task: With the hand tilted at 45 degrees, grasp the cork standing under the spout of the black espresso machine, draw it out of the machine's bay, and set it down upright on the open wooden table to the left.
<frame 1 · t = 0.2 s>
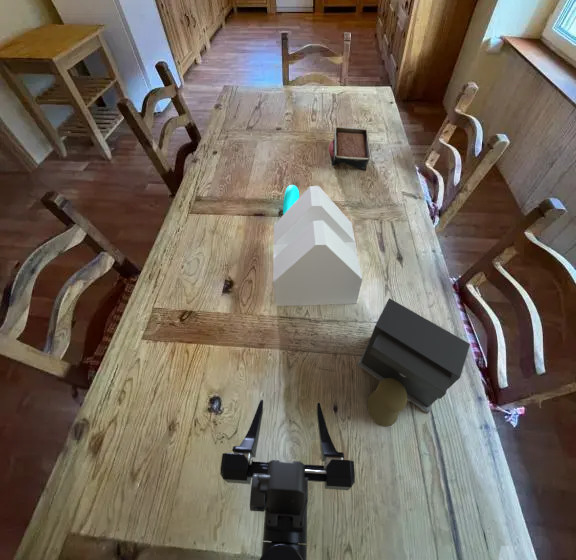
hand: (290, 401, 55), 14 cm above the table, tool horizontal, fingers open, 9 cm apart
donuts: (302, 215, 102), on the table
cork: (382, 407, 67), on the table
square planter box: (348, 158, 119), on the table
white house shaped block: (313, 276, 87), on the table
coffee maker: (382, 407, 66), on the table
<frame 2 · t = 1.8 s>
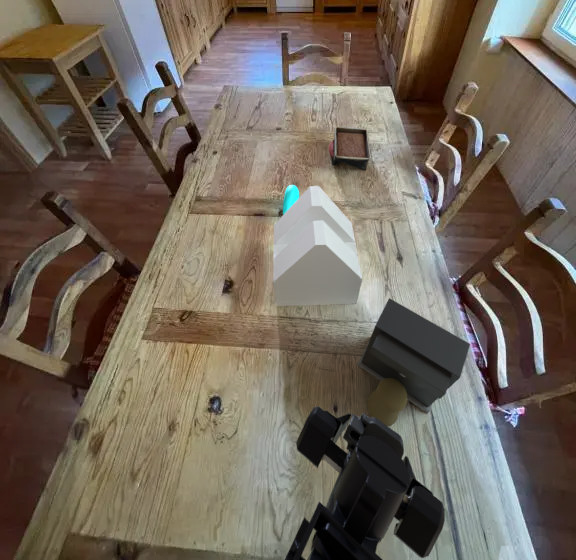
hand: (376, 436, 52), 14 cm above the table, tool tilted 45°, fingers open, 9 cm apart
nothing on the table moved.
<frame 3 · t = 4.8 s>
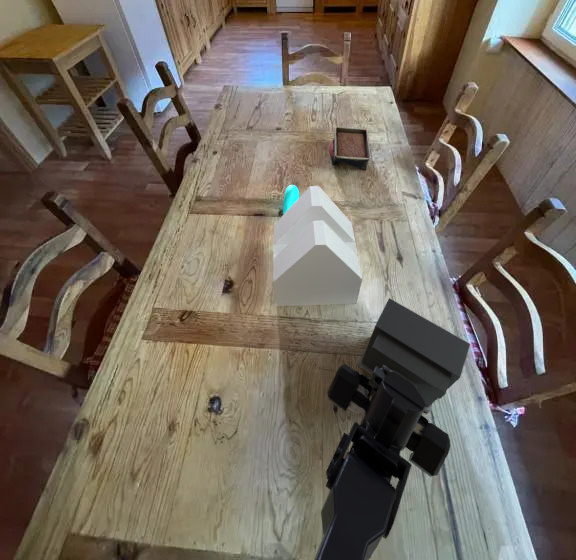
hand: (392, 391, 63), 7 cm above the table, tool tilted 45°, fingers closed on cork, 5 cm apart
cork: (382, 407, 67), on the table, touching gripper
everything else where it was.
when the fingers open (7 cm above the table, at t = 12.1 s): cork stays where it is, on the table.
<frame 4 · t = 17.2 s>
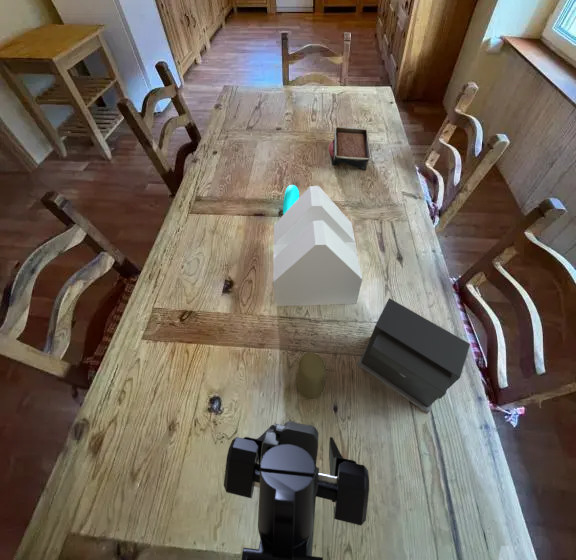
hand: (301, 433, 54), 13 cm above the table, tool tilted 45°, fingers open, 9 cm apart
cork: (310, 382, 70), on the table
everything else where it was.
at the end: cork inside the target area (0.1 cm from its centre), on the table; cork tilted 0°; cork touching table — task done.
